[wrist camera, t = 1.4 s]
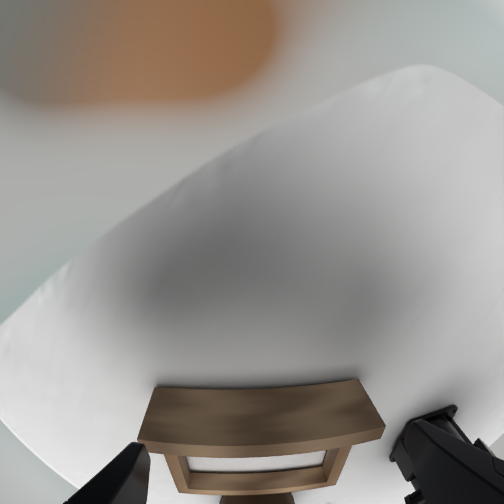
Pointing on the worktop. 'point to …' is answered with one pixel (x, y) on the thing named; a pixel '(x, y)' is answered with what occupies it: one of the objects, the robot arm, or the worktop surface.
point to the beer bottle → (258, 499)
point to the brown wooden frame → (259, 433)
